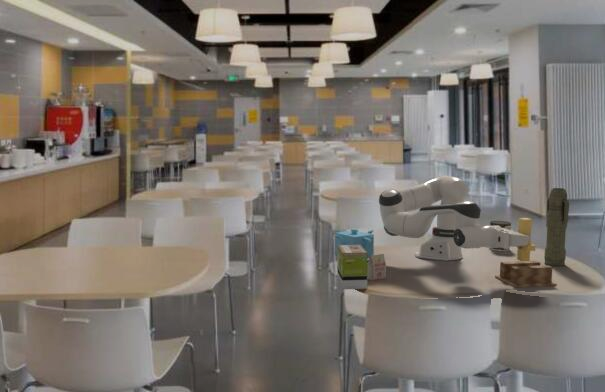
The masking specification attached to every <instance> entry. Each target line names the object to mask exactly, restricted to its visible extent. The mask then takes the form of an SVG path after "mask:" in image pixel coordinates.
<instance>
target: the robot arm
mask: <svg viewBox="0 0 605 392" xmlns="http://www.w3.org/2000/svg"><path fill="white" fill-rule="evenodd" d="M468 193H469V186H468V184H467V183H466V182H465V181H464V180H463V179H461V178H459V177H455V176H452V175H451V176H450V175H442V176H438V177H436V178H434V179H433V178H432V179H431V180H429V181H426V182H424V183H421V184H418V185H414V186H410V187H407V188H404V189H400V190H399V191H397V190H396V189H388V190H384V191H383V192H381V194H380V195H379V196H378V197H379V198H378V203H379V211H380V217H381V220H382V223H383V229H384V231H385V233H386V234H387V235H389V236H391V237H402V238H408V239H409V238H411V239H419V238H423V236H425V235H426V234H427V233H428V232H429V230H430V228H431V226H432V223H433V221H434V219H435V218H436V217H437V218H436V226H433V227H432V231H431V235H430V236H429V237H428V238H426V239H425V240H423V241H422V242H421V244H420V247H419V250H417V251H416V252H415V253H414V256H415V258H421V259H427V260H437V261H444V262H445V261H447V262H448V261H455V260H460V259H461V260H462V259H463V258H464V257H463V254H462V253H463V252H462V248H463V249H481V248H487V249H489V248H509V247H511V248H512V247H513V248H514V247H515V246H525V245H527V244H528V239H531V238H532V234H531V235H529V234H525V235H524V234H521V233H518V231H515V230H512V229H511V230H509V229H505V228H501V227H500V226H498V225H497V226H490V225H484V226H480V218H481V207H480V206H479V205H478V204H477V203H476V202H474V201H470V200H469V201H465V198H466V197H467V195H468ZM437 202H440V204H435V203H437ZM412 211H413V212H412ZM414 211H415V212H414ZM531 240H532V239H531Z"/></svg>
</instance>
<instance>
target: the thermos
mask: <svg viewBox="0 0 605 392" xmlns="http://www.w3.org/2000/svg"><path fill="white" fill-rule="evenodd" d="M567 192H568V191H567V189H565V188H563V187H561V188H560V187H554V188H551V189H550V192H549V195H548V196H549V197H548V198H547V199H546V213H545V214H546V224H545V226H546V228H547V229H546V245H545V248H544V258H543V259H544V265H548V266H551V267H564V266H565V265H566V264H565V262H566V258H567V257H566V256H567V251H566V234H567V233H566V231H567V228H568V222H569V214H570V213H569V212H570V211H569V210H570V202H569V200H568V193H567Z"/></svg>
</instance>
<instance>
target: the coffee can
mask: <svg viewBox="0 0 605 392" xmlns="http://www.w3.org/2000/svg"><path fill="white" fill-rule="evenodd" d="M489 223H490V224H489V226H497V225H498V226H500V227H501V228H505V229H509V230H512V228H511V227H512V222H510V221H505V220H491V221H490V222H489ZM488 249H489V250H490V251H495V252H508V251H509V252H510V249H511V248H510V247H509V248H488Z"/></svg>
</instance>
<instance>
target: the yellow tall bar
mask: <svg viewBox="0 0 605 392" xmlns="http://www.w3.org/2000/svg"><path fill="white" fill-rule="evenodd" d="M532 222H533V220H532V219H531V218H529V217H519V218H518V231H517V232H518V233H521V234H524V235H525V234H529V235H531V236H532ZM531 240H532V239H528V244H527V245H525V246H515V247H516V248H517V250H516V252H517V255H516V256H517V257H516V261H531V252H533V251H534V252H535V251H536V248H537V247H536V245H535V244H531Z"/></svg>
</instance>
